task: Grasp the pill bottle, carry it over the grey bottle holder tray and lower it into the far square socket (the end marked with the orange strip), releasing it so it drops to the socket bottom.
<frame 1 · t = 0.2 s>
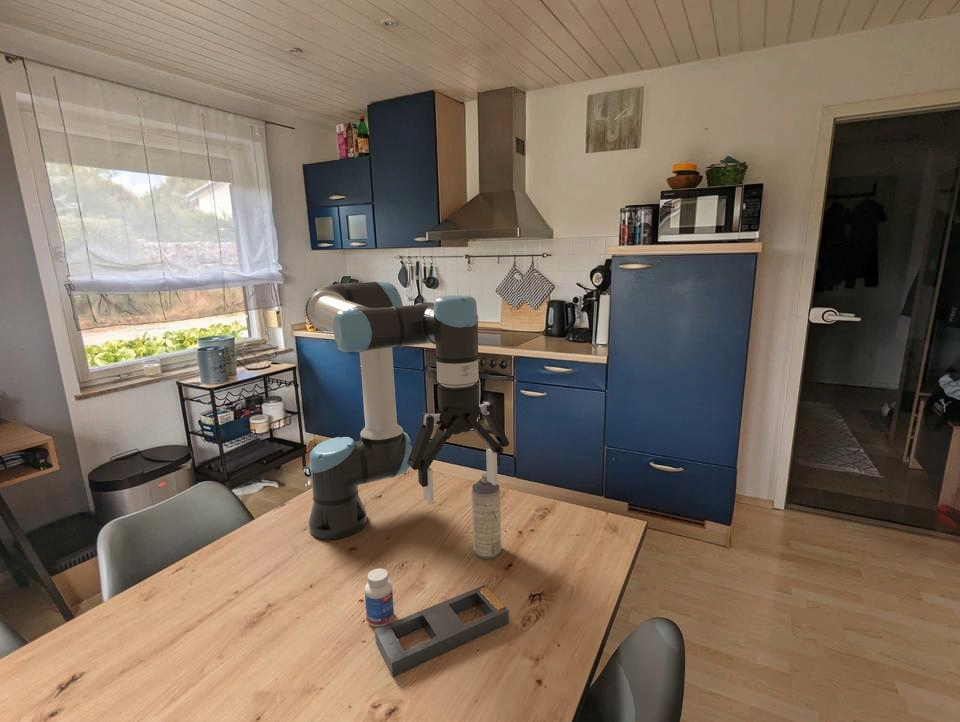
hand: (461, 491, 92), 27 cm above the table, fingers open, 13 cm apart
pill bottle: (380, 618, 98), on the table
aerosol can: (487, 551, 120), on the table
grey bottle holder tray: (443, 633, 94), on the table
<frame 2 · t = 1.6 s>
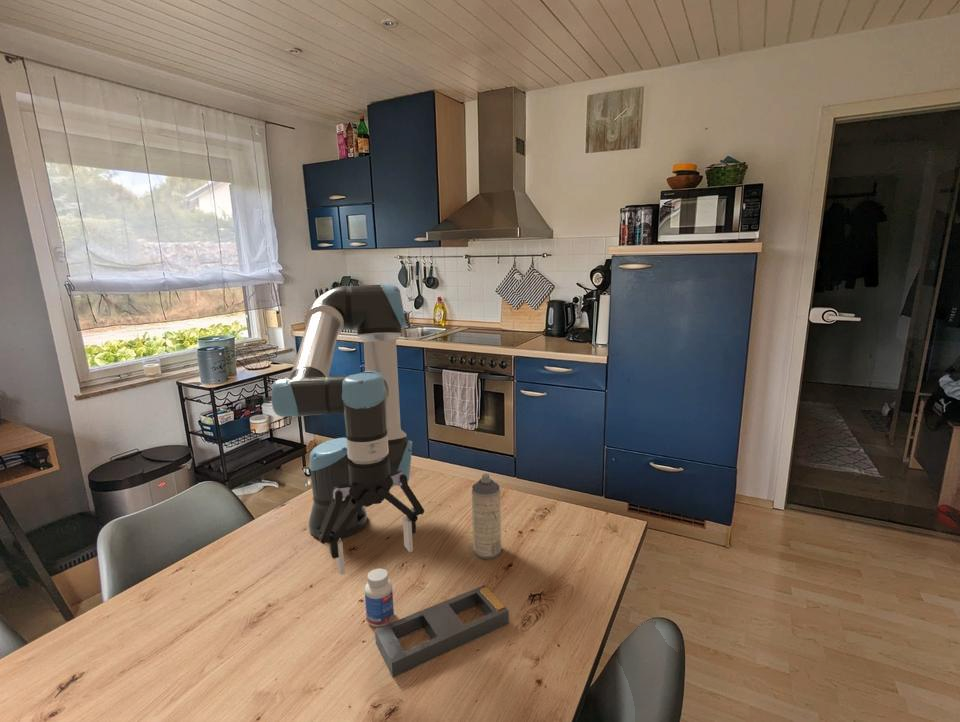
hand: (376, 559, 95), 13 cm above the table, fingers open, 13 cm apart
nothing on the table moved.
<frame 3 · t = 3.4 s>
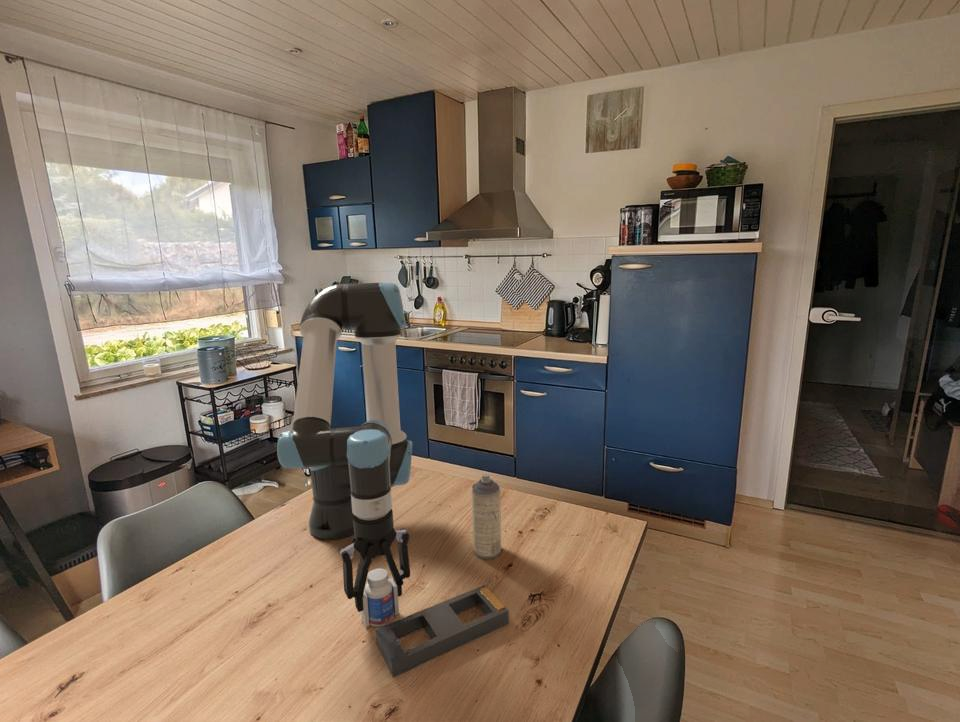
hand: (380, 616, 98), 0 cm above the table, fingers closed on pill bottle, 5 cm apart
pill bottle: (380, 618, 98), on the table, touching gripper
everything else where it was.
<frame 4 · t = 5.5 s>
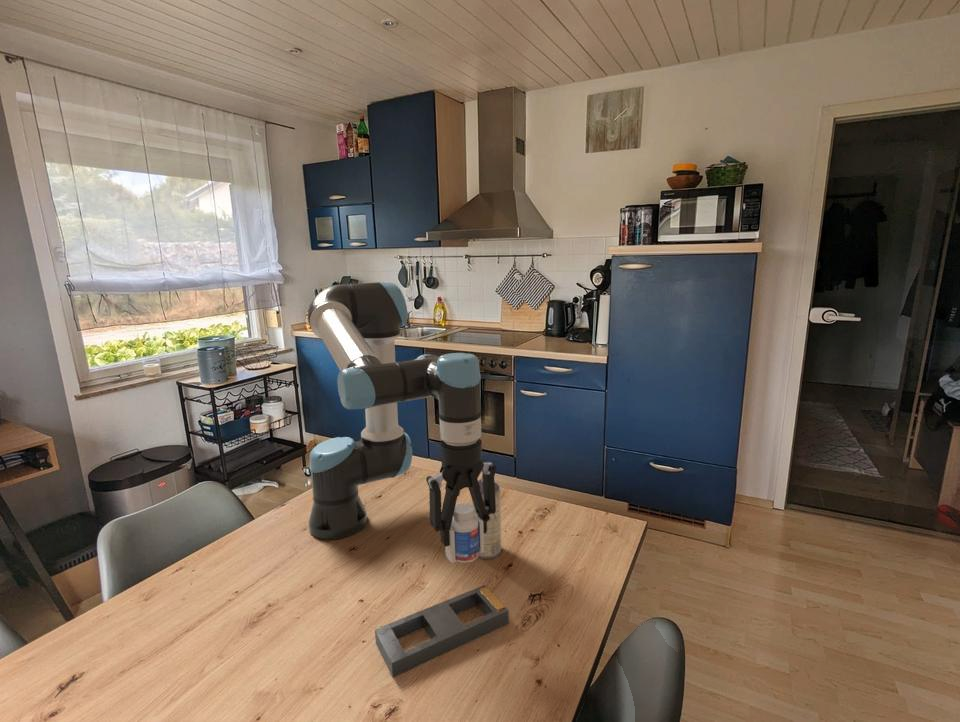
hand: (464, 553, 93), 15 cm above the table, fingers closed on pill bottle, 5 cm apart
pill bottle: (465, 556, 93), point 15 cm above the table, touching gripper
everything else where it was.
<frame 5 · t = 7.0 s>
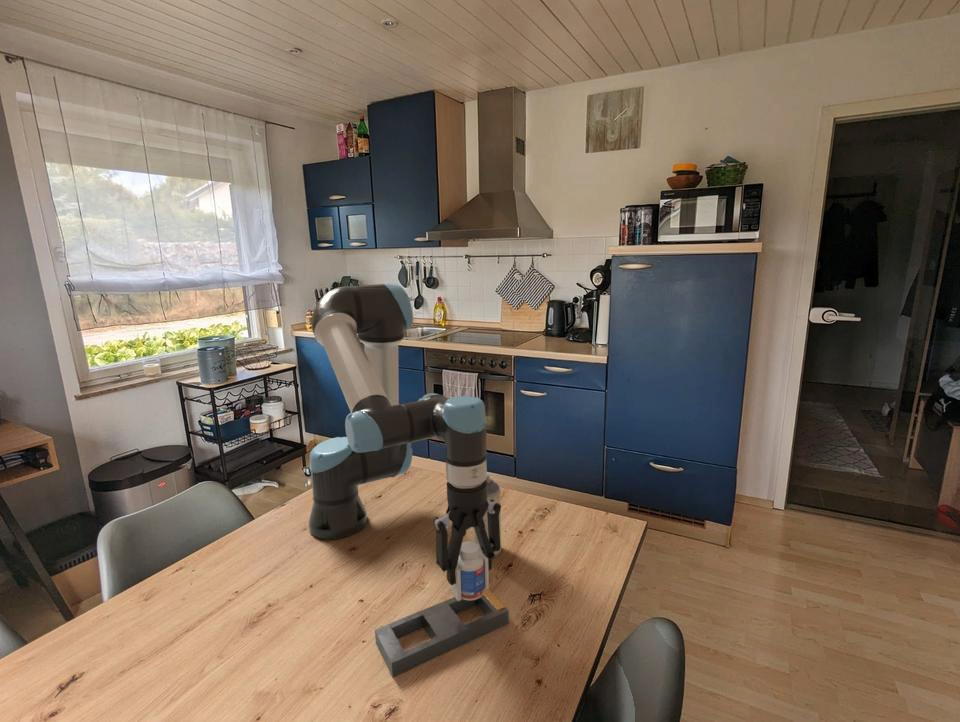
hand: (470, 590, 95), 7 cm above the table, fingers closed on pill bottle, 5 cm apart
pill bottle: (470, 593, 95), point 6 cm above the table, touching gripper
everything else where it was.
when the fingers open (4 cm above the table, at t = 7.9 s): pill bottle drops 3 cm, resting in grey bottle holder tray.
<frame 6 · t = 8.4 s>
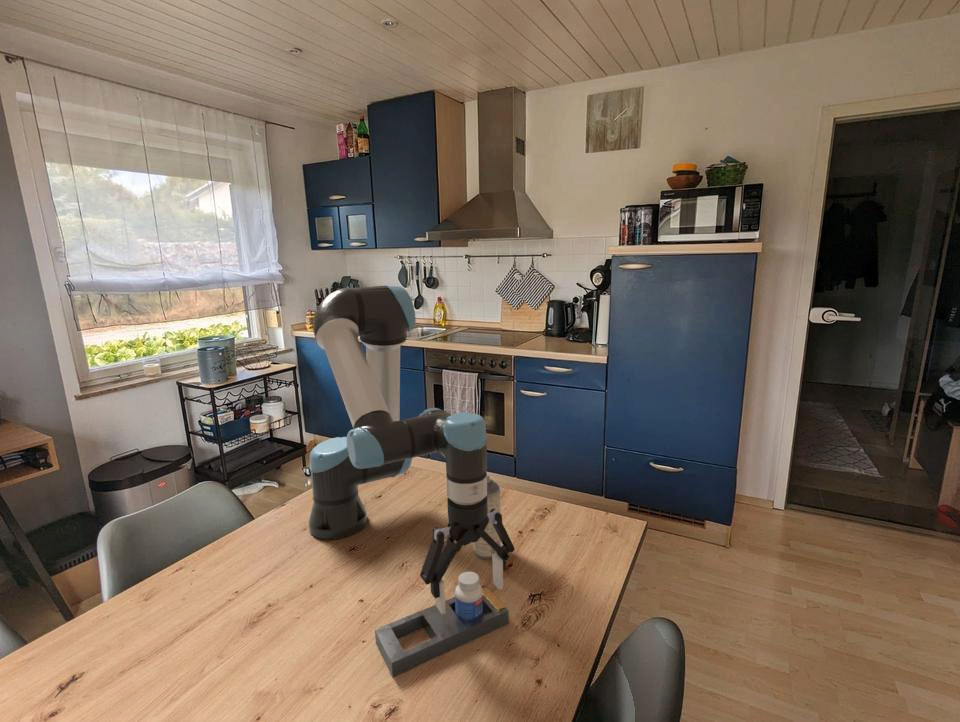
hand: (470, 597, 95), 5 cm above the table, fingers open, 12 cm apart
pill bottle: (469, 622, 96), resting in grey bottle holder tray
everything else where it was.
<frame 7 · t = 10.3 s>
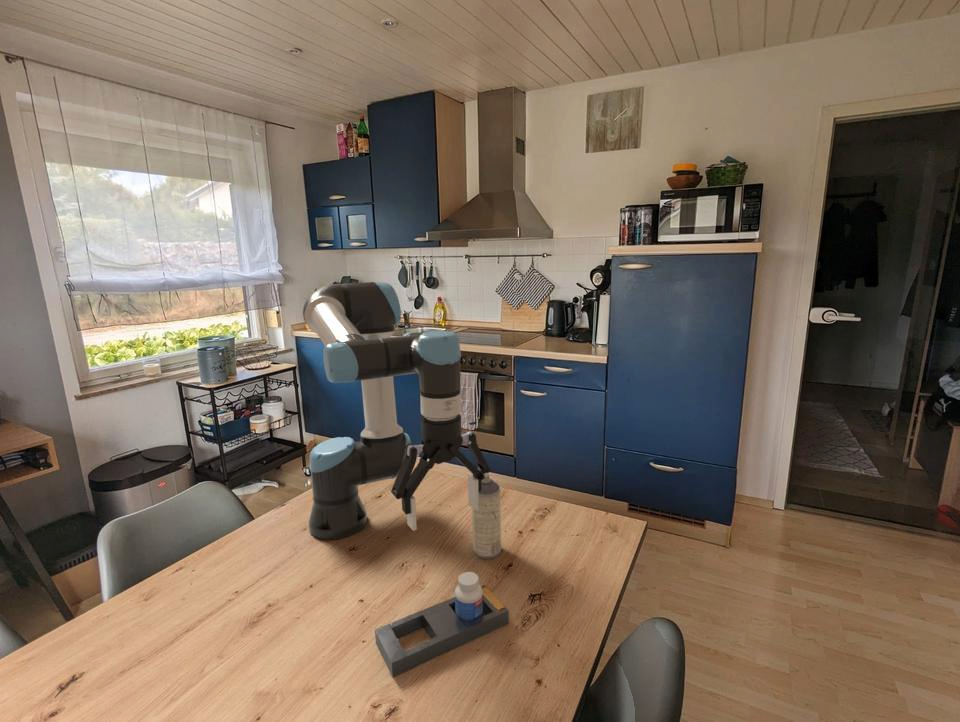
hand: (443, 516, 96), 21 cm above the table, fingers open, 13 cm apart
nothing on the table moved.
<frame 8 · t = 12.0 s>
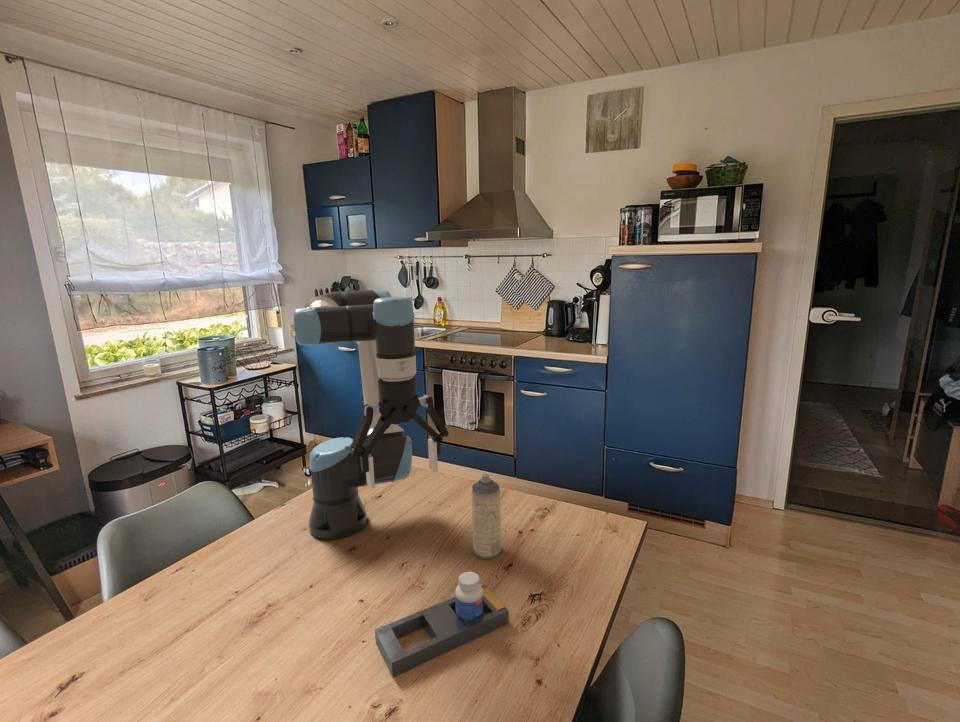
hand: (403, 477, 100), 27 cm above the table, fingers open, 13 cm apart
nothing on the table moved.
at the end: pill bottle 0.3 cm from the target spot on the grey bottle holder tray, point 0.0 cm above the grey bottle holder tray's base; pill bottle tilted 1°; the gripper is holding nothing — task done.
